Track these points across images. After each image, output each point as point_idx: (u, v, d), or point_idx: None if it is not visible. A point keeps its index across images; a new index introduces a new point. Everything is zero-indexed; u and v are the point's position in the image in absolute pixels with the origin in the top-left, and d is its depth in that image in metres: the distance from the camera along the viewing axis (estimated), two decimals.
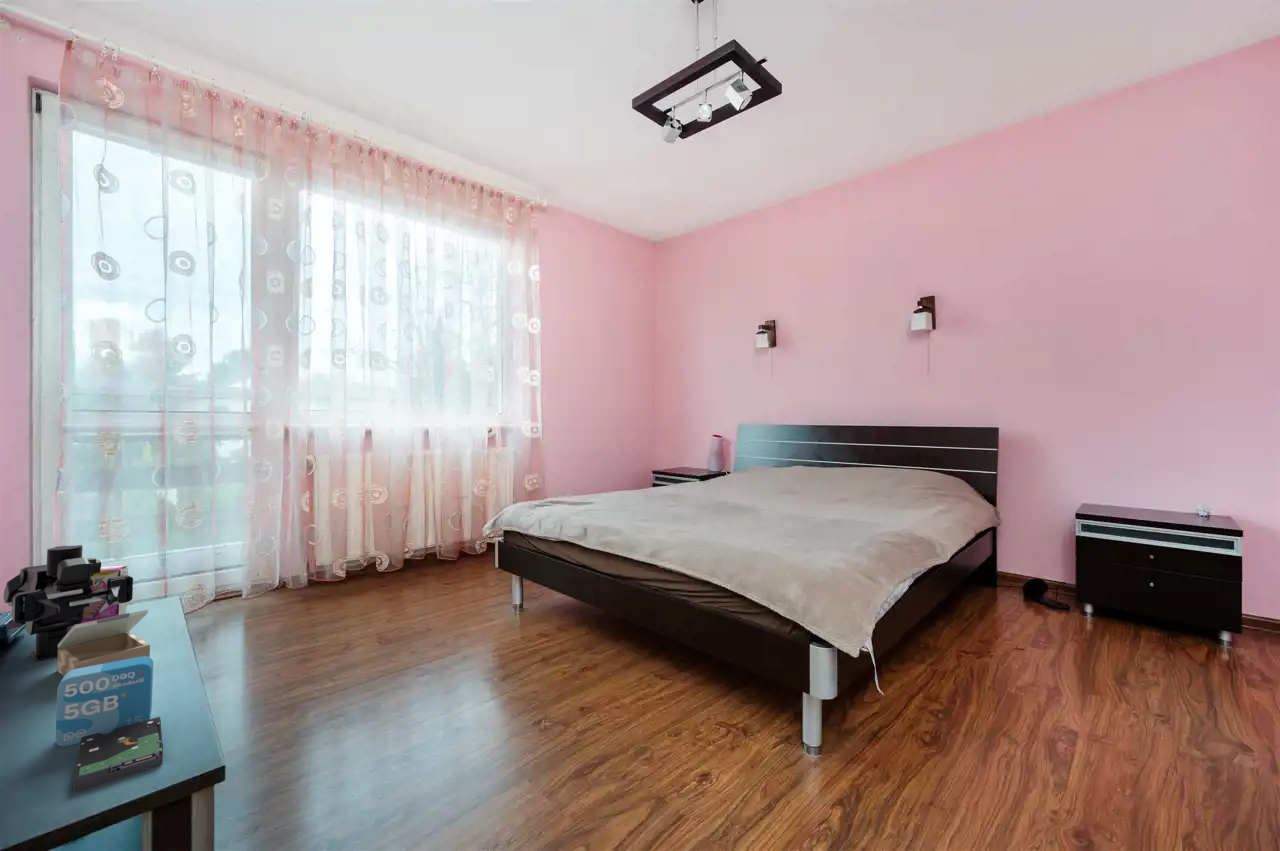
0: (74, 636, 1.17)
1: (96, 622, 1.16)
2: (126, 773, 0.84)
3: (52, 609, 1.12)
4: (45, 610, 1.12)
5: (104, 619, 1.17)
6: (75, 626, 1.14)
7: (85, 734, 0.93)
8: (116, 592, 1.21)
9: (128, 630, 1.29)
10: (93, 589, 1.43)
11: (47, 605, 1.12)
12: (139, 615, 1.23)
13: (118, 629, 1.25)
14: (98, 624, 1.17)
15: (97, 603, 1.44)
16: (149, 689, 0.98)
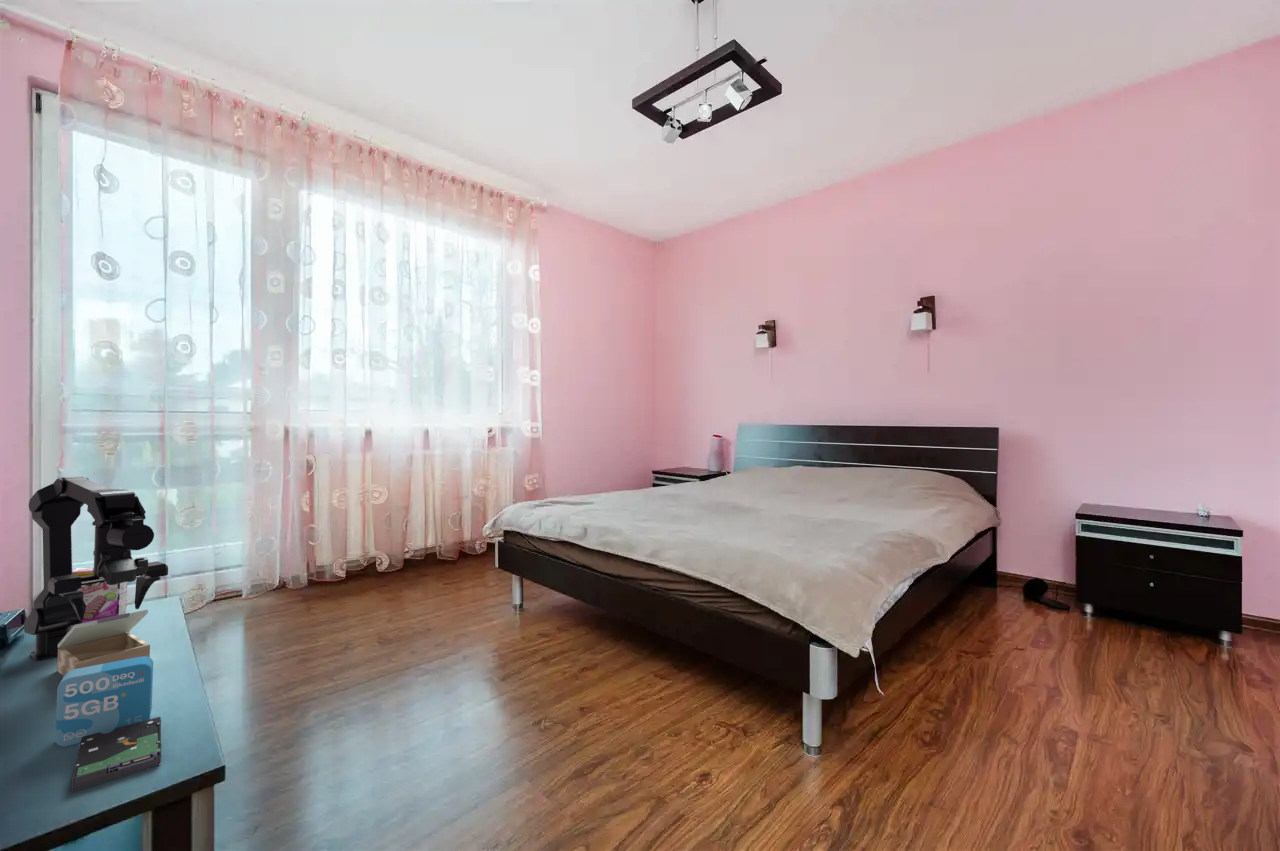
0: (74, 636, 1.17)
1: (96, 622, 1.16)
2: (124, 774, 0.84)
3: (78, 616, 1.15)
4: (74, 607, 1.15)
5: (104, 619, 1.17)
6: (75, 626, 1.14)
7: (85, 734, 0.93)
8: (142, 599, 1.24)
9: (128, 630, 1.29)
10: (93, 589, 1.43)
11: (77, 609, 1.15)
12: (139, 615, 1.23)
13: (118, 629, 1.25)
14: (98, 624, 1.17)
15: (97, 603, 1.44)
16: (149, 689, 0.98)
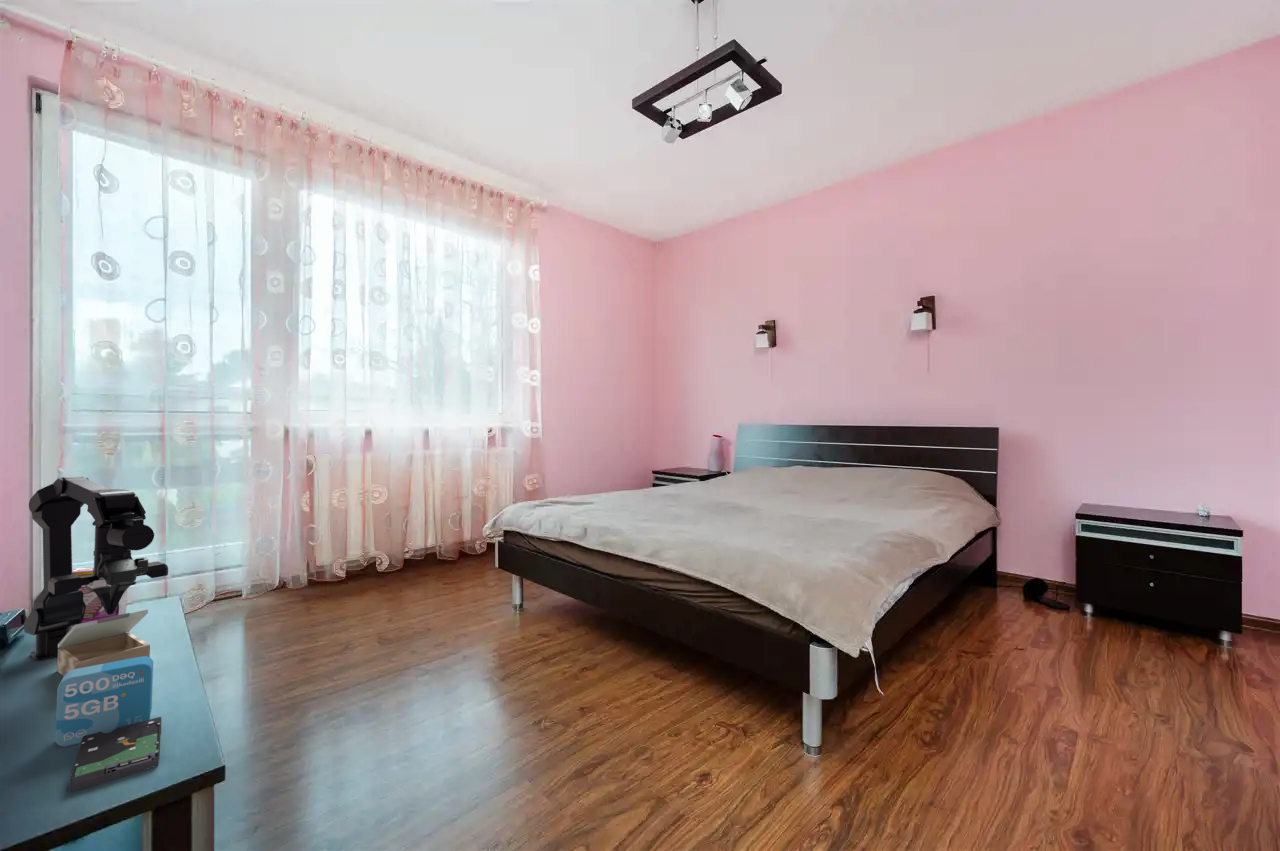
0: (74, 636, 1.17)
1: (96, 622, 1.16)
2: (122, 774, 0.84)
3: (106, 610, 1.19)
4: (102, 601, 1.19)
5: (104, 619, 1.17)
6: (75, 626, 1.14)
7: (85, 734, 0.93)
8: (116, 604, 1.20)
9: (128, 630, 1.29)
10: None
11: (105, 603, 1.18)
12: (139, 615, 1.23)
13: (118, 629, 1.25)
14: (98, 624, 1.17)
15: (97, 603, 1.44)
16: (149, 689, 0.98)
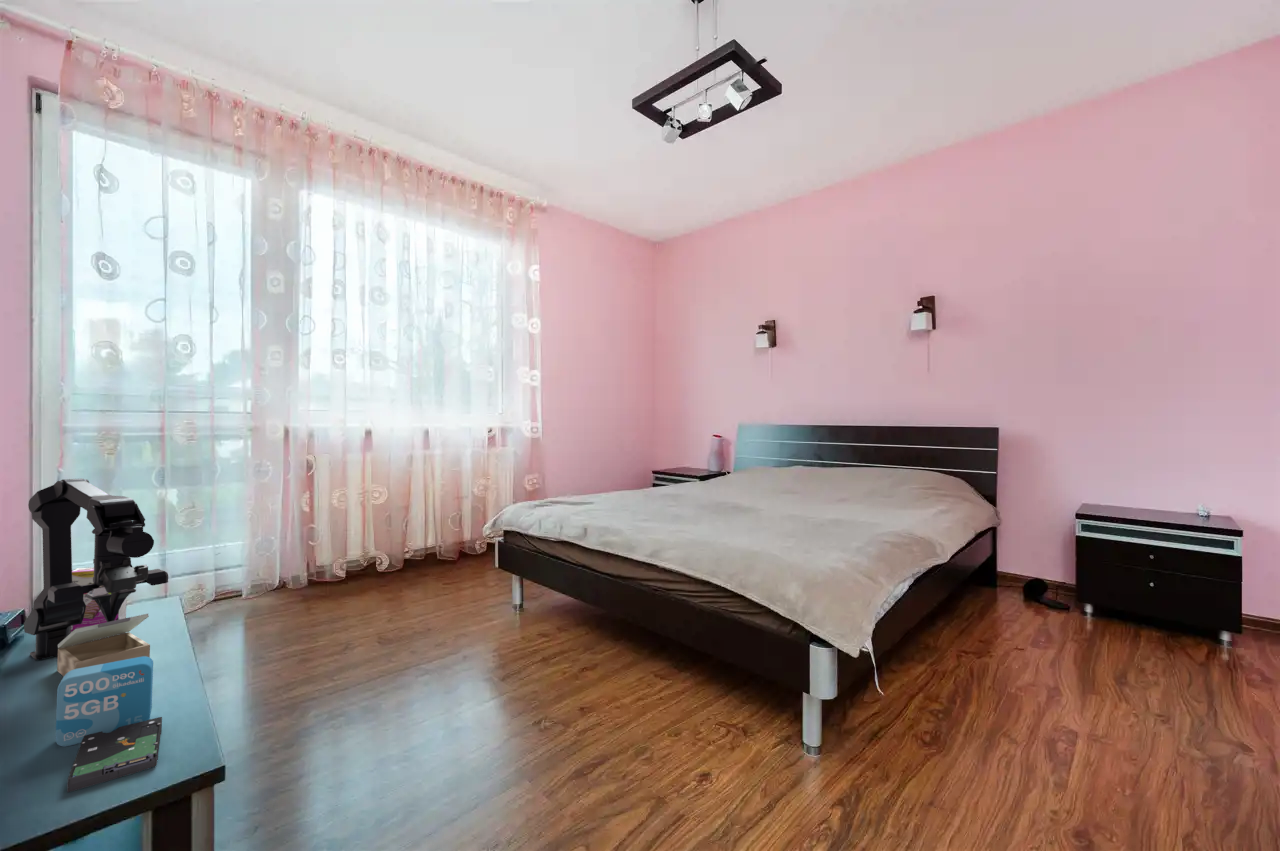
0: (74, 638, 1.17)
1: (97, 626, 1.16)
2: (119, 775, 0.84)
3: (106, 618, 1.19)
4: (102, 610, 1.19)
5: (105, 624, 1.16)
6: (76, 630, 1.13)
7: (85, 734, 0.93)
8: (116, 612, 1.20)
9: (128, 630, 1.29)
10: None
11: (105, 611, 1.18)
12: (140, 619, 1.23)
13: (118, 630, 1.25)
14: (98, 628, 1.17)
15: None
16: (149, 689, 0.98)
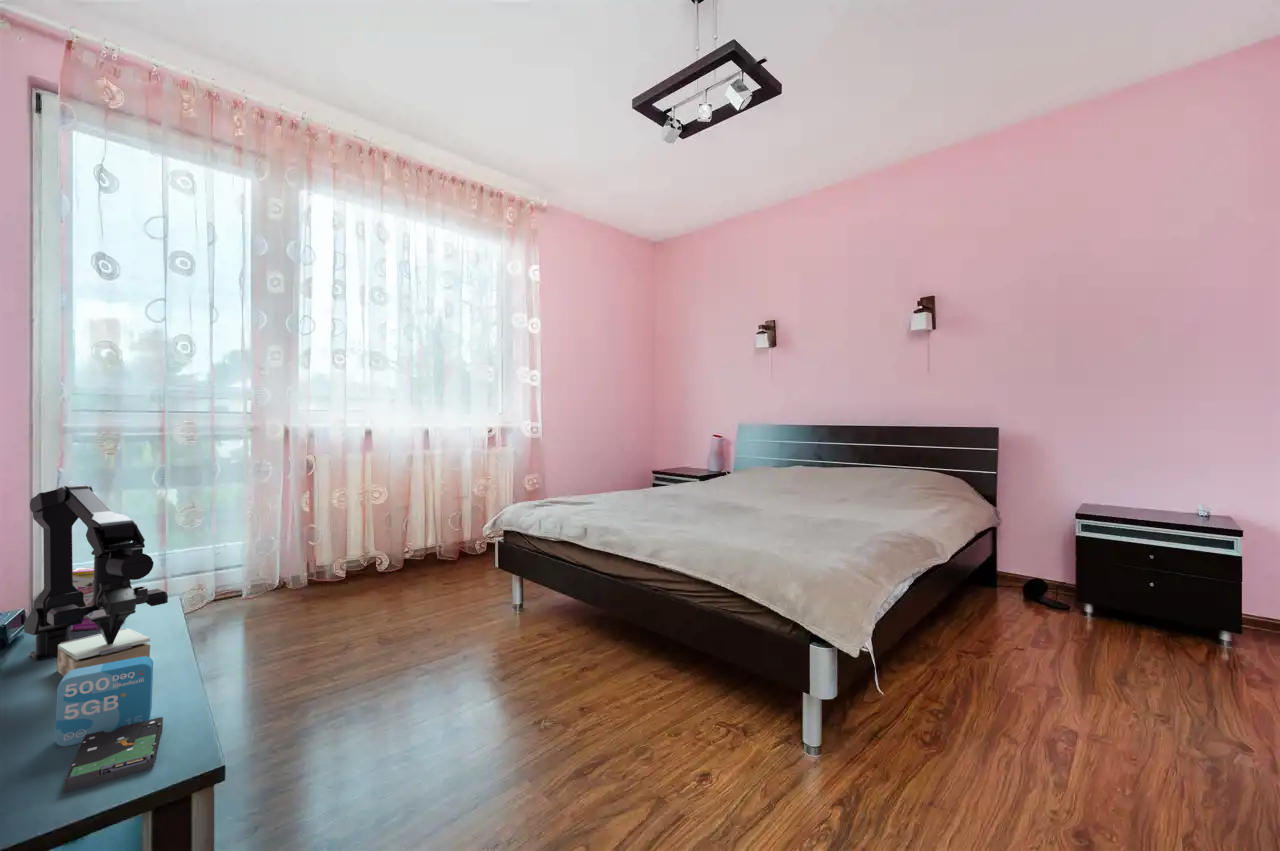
0: None
1: (98, 653, 1.15)
2: (117, 776, 0.84)
3: (105, 640, 1.19)
4: (101, 631, 1.18)
5: (106, 652, 1.15)
6: (77, 657, 1.12)
7: (85, 734, 0.93)
8: (116, 633, 1.20)
9: None
10: None
11: (104, 633, 1.18)
12: None
13: None
14: None
15: None
16: (149, 689, 0.98)
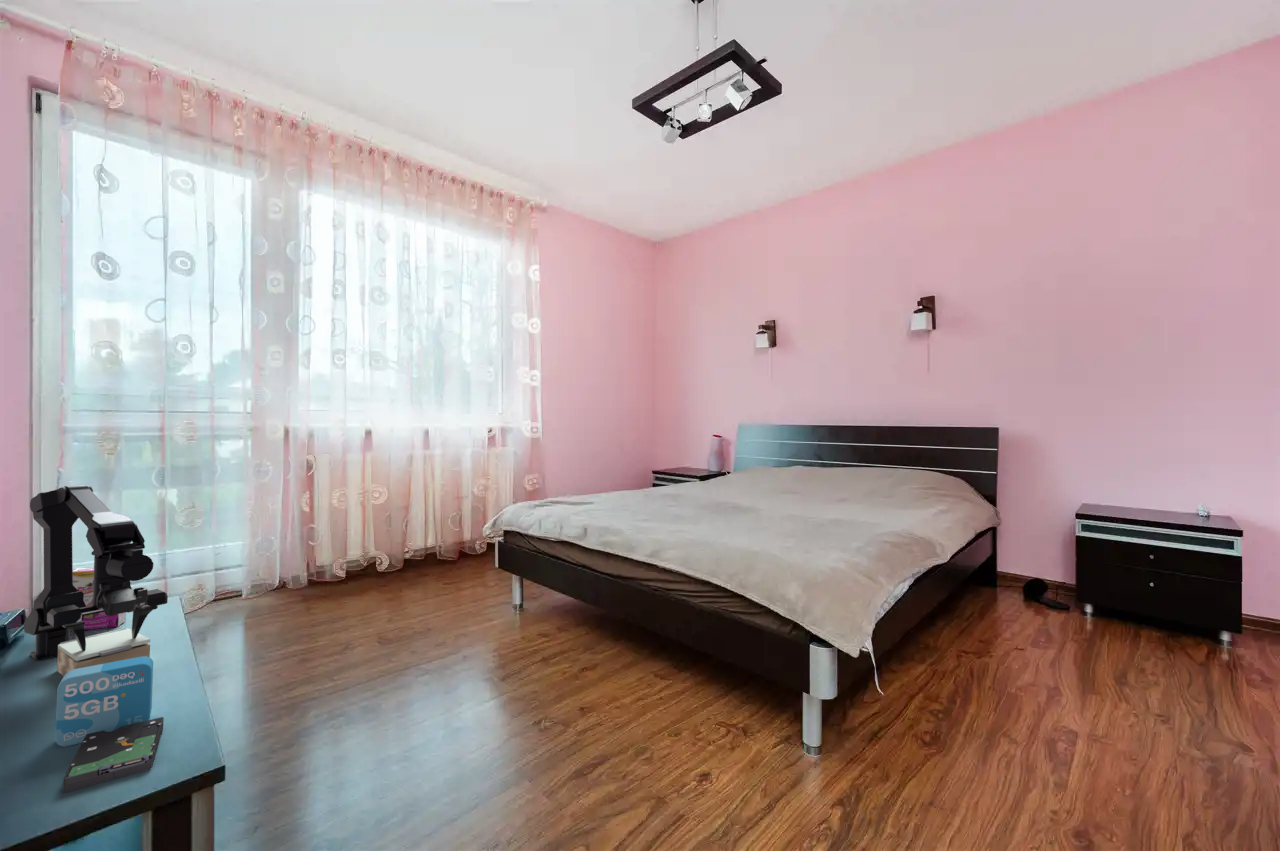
0: None
1: (98, 654, 1.15)
2: (115, 776, 0.83)
3: (80, 646, 1.15)
4: (76, 637, 1.15)
5: (106, 653, 1.15)
6: (77, 658, 1.12)
7: (85, 734, 0.93)
8: (139, 628, 1.23)
9: None
10: None
11: (79, 639, 1.15)
12: None
13: None
14: None
15: None
16: (149, 689, 0.98)
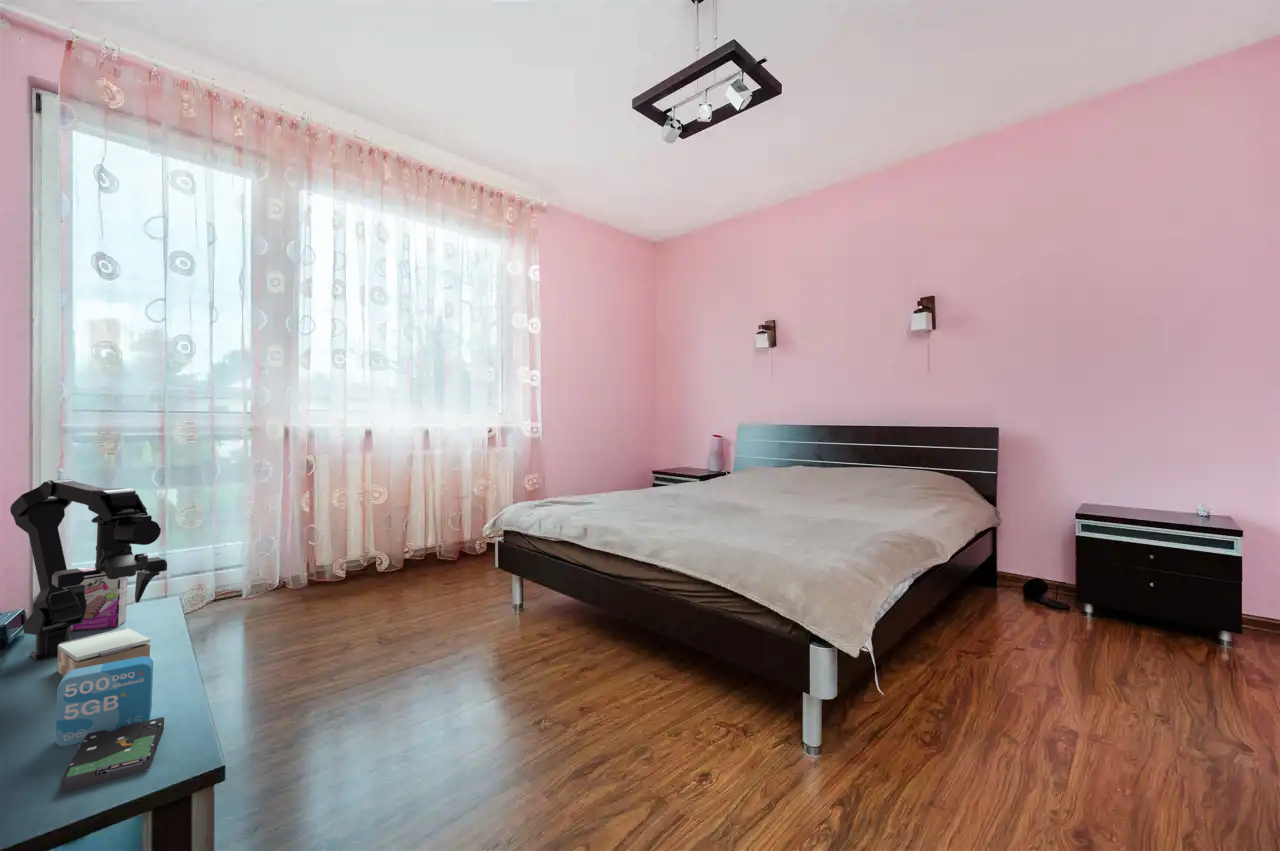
0: None
1: (98, 654, 1.15)
2: (112, 777, 0.83)
3: (80, 608, 1.20)
4: (76, 600, 1.20)
5: (106, 653, 1.15)
6: (77, 658, 1.12)
7: (85, 734, 0.93)
8: (141, 593, 1.29)
9: None
10: (93, 589, 1.43)
11: (79, 601, 1.20)
12: None
13: None
14: None
15: (97, 603, 1.44)
16: (149, 689, 0.98)
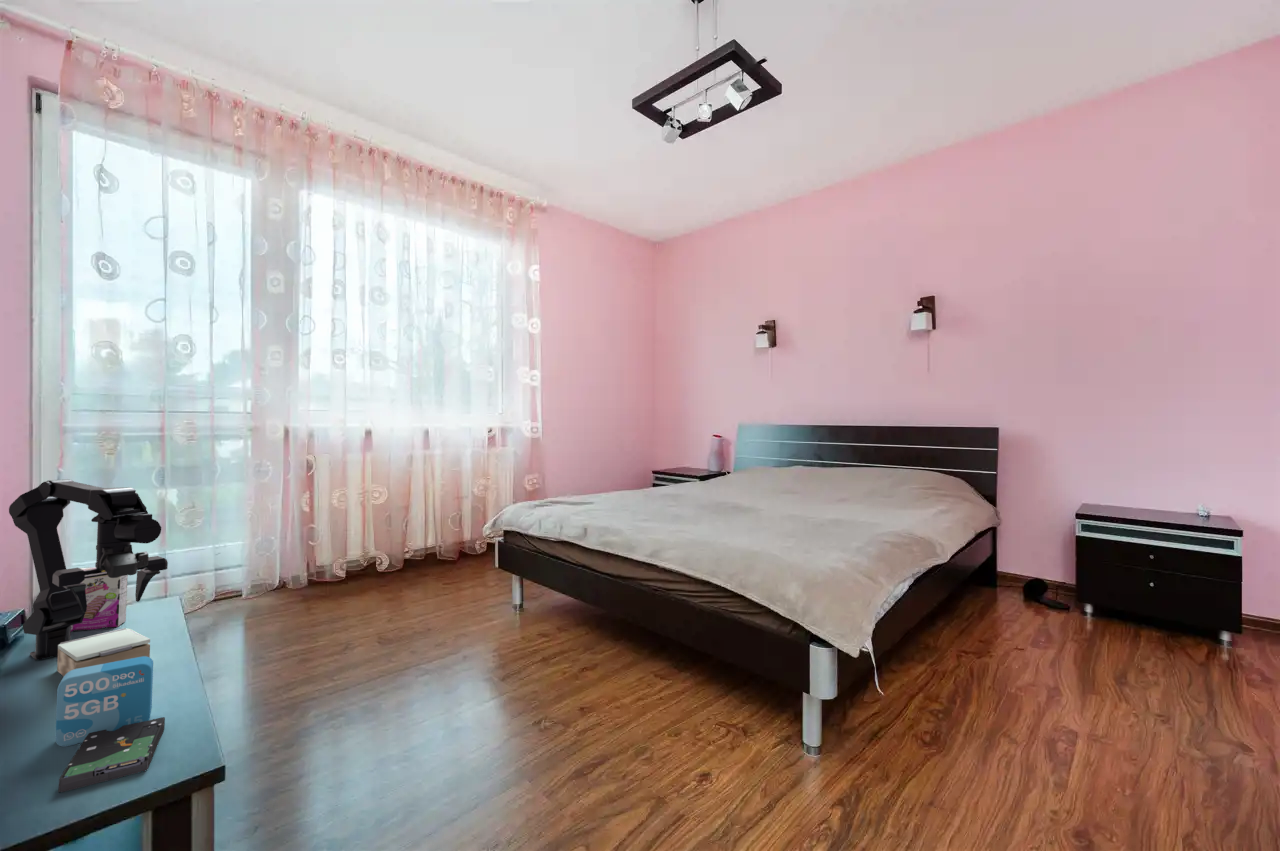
0: None
1: (98, 654, 1.15)
2: (110, 777, 0.83)
3: (81, 607, 1.21)
4: (77, 599, 1.20)
5: (106, 653, 1.15)
6: (77, 658, 1.12)
7: (85, 734, 0.93)
8: (142, 591, 1.29)
9: None
10: (93, 589, 1.43)
11: (80, 600, 1.20)
12: None
13: None
14: None
15: (97, 603, 1.44)
16: (149, 689, 0.98)
